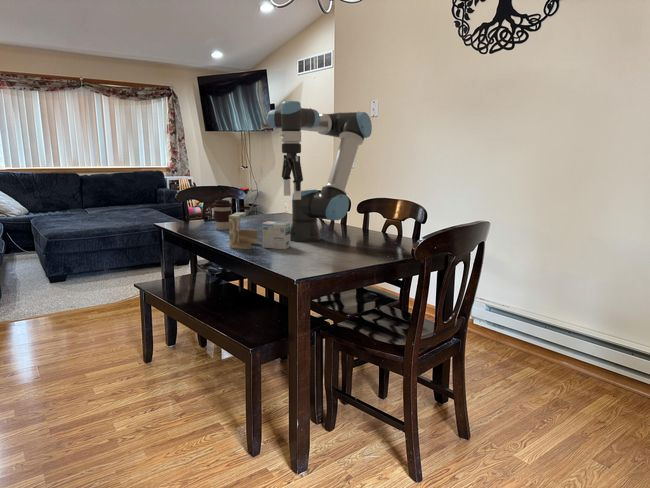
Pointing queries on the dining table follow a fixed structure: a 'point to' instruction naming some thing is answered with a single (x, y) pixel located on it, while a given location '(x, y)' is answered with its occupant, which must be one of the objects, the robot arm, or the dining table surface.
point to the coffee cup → (222, 214)
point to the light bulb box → (276, 235)
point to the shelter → (240, 233)
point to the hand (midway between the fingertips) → (292, 197)
